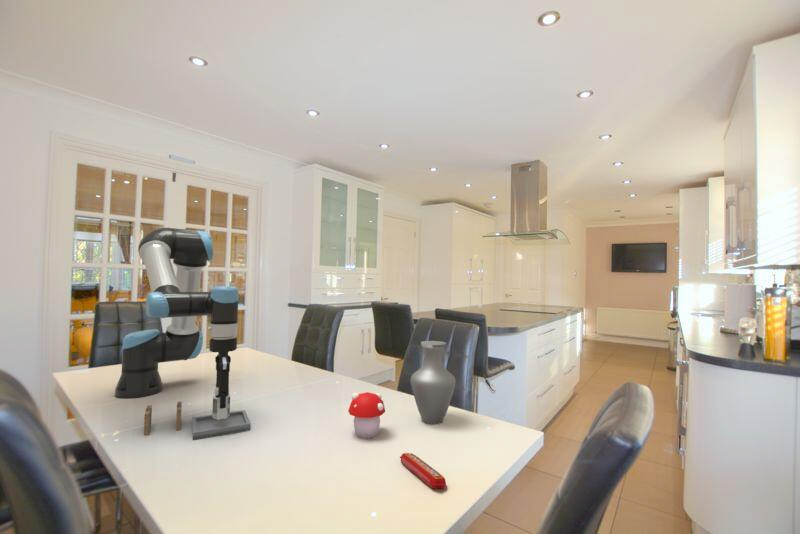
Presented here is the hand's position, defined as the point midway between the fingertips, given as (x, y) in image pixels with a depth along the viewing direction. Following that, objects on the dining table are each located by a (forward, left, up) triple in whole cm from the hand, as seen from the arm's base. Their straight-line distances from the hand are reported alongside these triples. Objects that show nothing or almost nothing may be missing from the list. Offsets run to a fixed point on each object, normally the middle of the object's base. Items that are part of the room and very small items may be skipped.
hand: (221, 415), depth 114 cm
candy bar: (+51, +39, -4) cm, 64 cm away
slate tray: (0, 0, -4) cm, 4 cm away
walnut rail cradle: (-7, -15, -4) cm, 17 cm away
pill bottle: (0, 0, -1) cm, 1 cm away
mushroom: (+24, +37, -4) cm, 44 cm away
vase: (+24, +60, -4) cm, 65 cm away
